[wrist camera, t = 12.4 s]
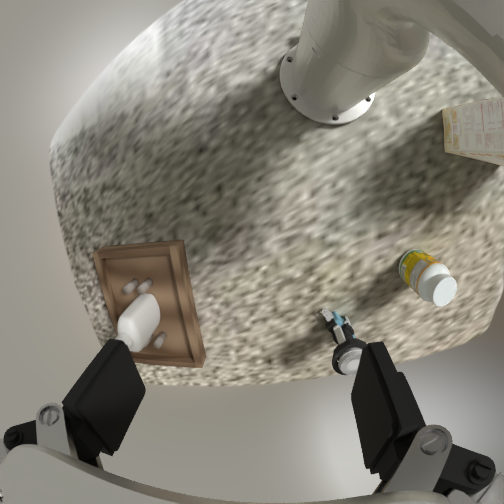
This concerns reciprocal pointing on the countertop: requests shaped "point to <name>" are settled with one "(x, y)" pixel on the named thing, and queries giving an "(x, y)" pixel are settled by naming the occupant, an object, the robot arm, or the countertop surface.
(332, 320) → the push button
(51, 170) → the countertop surface
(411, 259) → the supplement bottle
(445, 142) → the coffeecake box
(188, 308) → the pin tray
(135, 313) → the eye dropper bottle
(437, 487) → the robot arm
